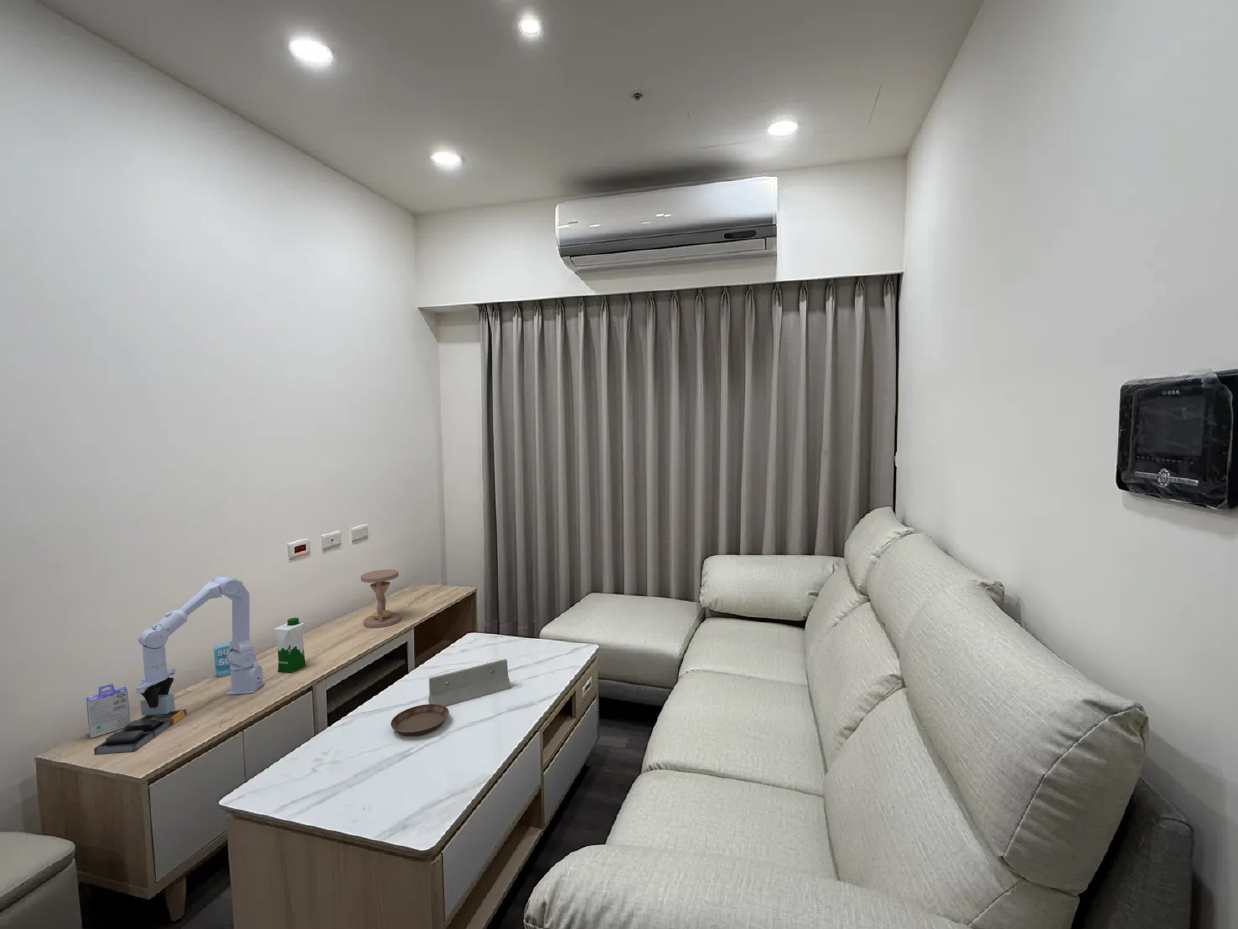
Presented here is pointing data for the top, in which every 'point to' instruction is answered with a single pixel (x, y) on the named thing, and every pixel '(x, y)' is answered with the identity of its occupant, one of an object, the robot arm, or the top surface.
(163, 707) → the grey-blue rectangular block
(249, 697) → the top surface
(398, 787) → the top surface
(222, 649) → the data package
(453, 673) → the barrier
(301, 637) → the milk carton
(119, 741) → the grey tray
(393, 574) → the hourglass
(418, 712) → the plant saucer
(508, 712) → the top surface
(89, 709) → the ink cartridge box
